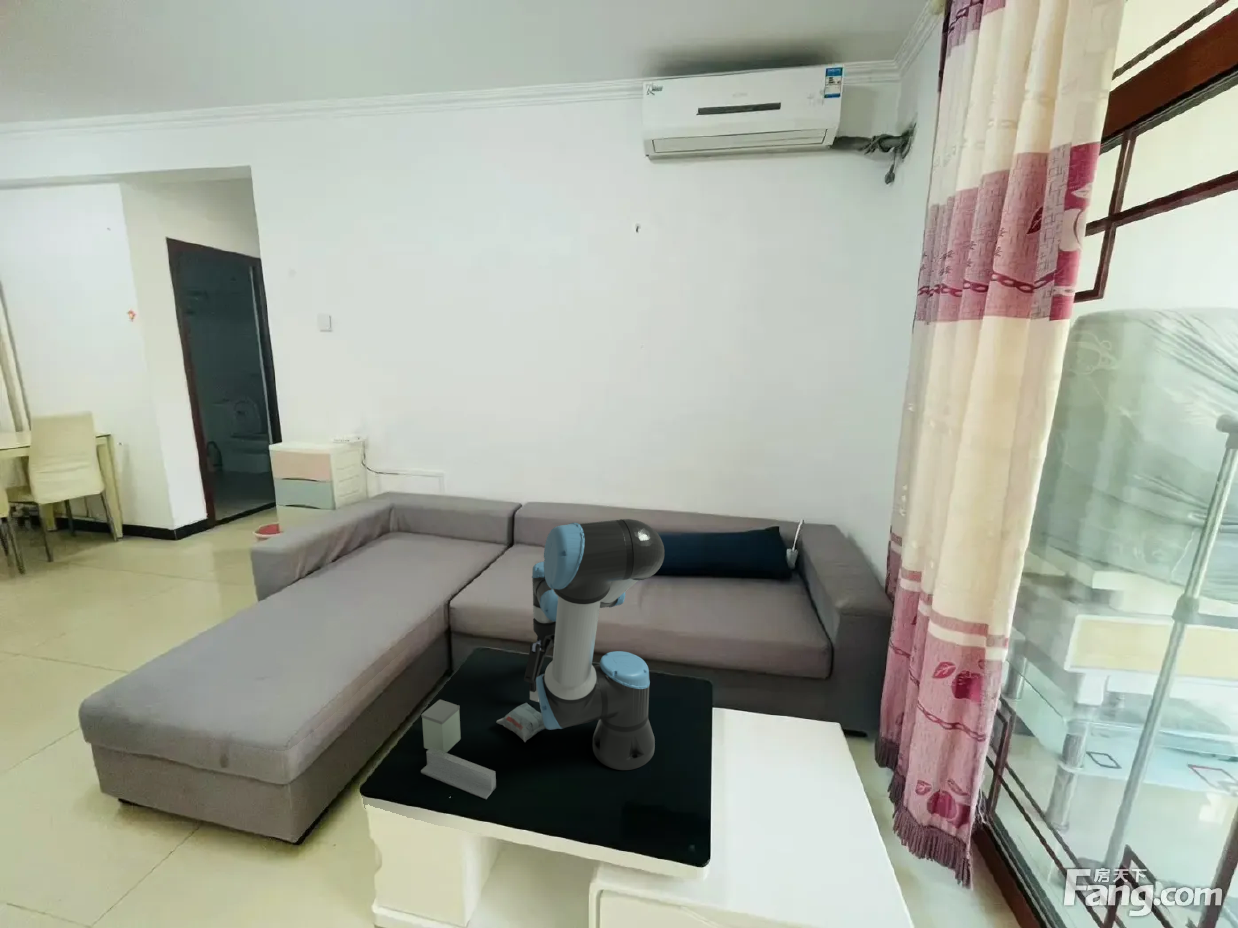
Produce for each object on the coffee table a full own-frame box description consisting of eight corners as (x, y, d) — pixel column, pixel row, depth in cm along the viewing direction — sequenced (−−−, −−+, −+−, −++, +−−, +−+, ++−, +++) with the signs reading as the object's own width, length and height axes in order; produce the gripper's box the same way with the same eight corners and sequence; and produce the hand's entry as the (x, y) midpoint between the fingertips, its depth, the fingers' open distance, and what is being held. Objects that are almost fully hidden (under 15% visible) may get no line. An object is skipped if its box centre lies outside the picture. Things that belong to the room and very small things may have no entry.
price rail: (497, 785, 113) (496, 770, 112) (486, 799, 109) (485, 783, 109) (433, 761, 120) (432, 746, 119) (421, 772, 116) (419, 757, 115)
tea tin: (461, 738, 127) (459, 705, 125) (443, 755, 121) (441, 721, 120) (441, 731, 129) (439, 699, 128) (423, 748, 124) (421, 714, 122)
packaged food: (525, 750, 123) (524, 732, 122) (496, 728, 130) (495, 710, 130) (552, 731, 129) (552, 714, 128) (523, 711, 137) (522, 695, 136)
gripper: (557, 596, 154) (558, 660, 158) (509, 635, 132) (511, 708, 136) (579, 601, 151) (579, 666, 155) (533, 641, 129) (535, 716, 133)
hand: (547, 686), depth 145 cm, fingers open, 13 cm apart
